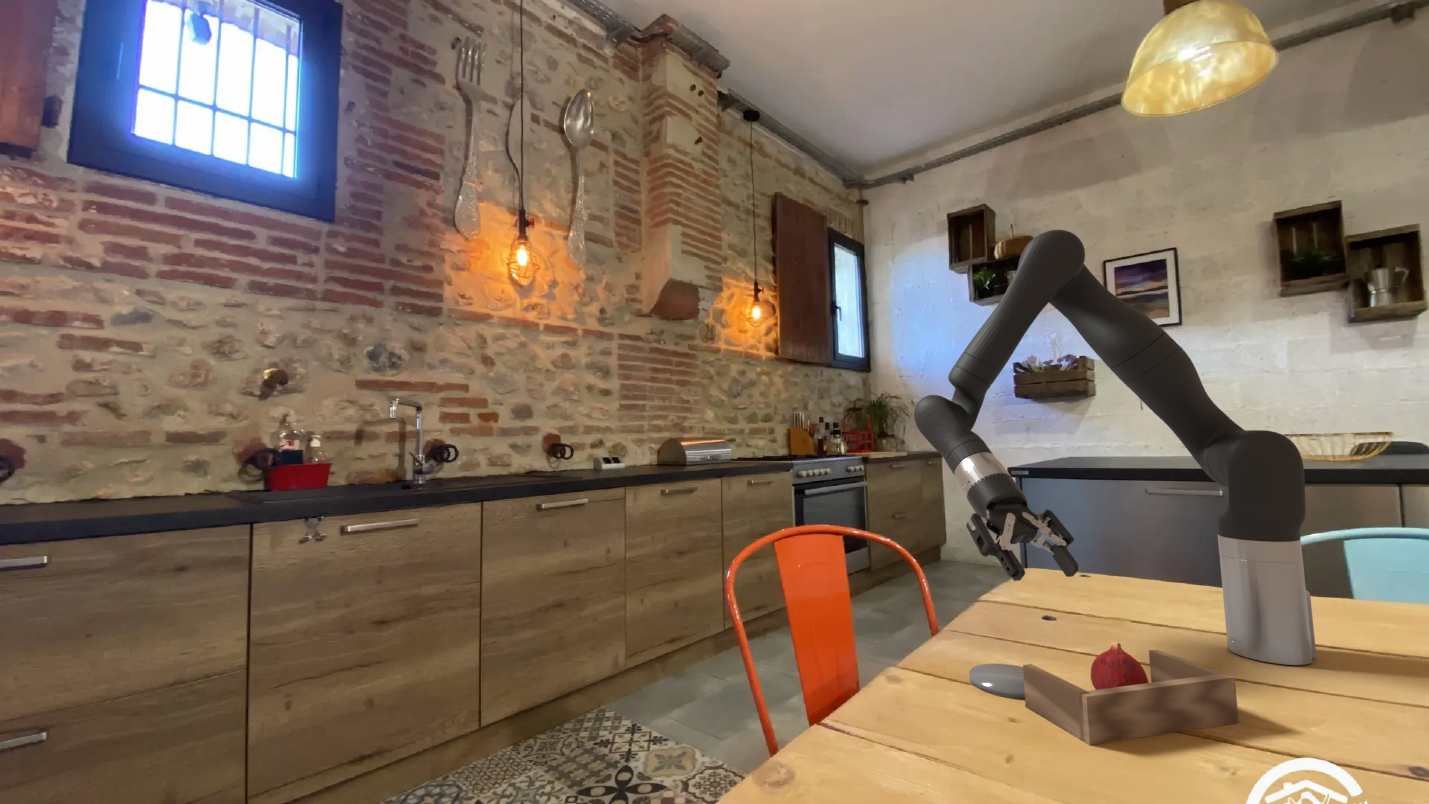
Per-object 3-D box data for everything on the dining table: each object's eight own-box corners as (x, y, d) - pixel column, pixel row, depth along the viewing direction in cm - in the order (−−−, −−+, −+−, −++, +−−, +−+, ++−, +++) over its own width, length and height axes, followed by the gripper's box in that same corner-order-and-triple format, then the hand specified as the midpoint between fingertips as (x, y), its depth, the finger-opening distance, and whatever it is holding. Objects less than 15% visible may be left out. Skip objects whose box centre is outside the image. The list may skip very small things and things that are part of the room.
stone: (1016, 666, 85) (1015, 660, 85) (1070, 694, 76) (1070, 687, 76) (954, 673, 83) (954, 667, 83) (1002, 703, 74) (1002, 696, 74)
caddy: (1159, 689, 77) (1156, 649, 77) (1238, 722, 67) (1234, 677, 68) (1025, 706, 72) (1022, 664, 73) (1089, 744, 63) (1086, 696, 63)
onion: (1161, 724, 67) (1155, 652, 68) (1105, 720, 68) (1100, 650, 69) (1136, 702, 73) (1131, 636, 74) (1084, 699, 74) (1080, 634, 75)
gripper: (957, 473, 90) (1014, 563, 78) (1038, 470, 93) (1105, 556, 81) (939, 504, 95) (990, 594, 83) (1017, 501, 98) (1077, 587, 86)
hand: (1047, 575), depth 82 cm, fingers open, 8 cm apart
